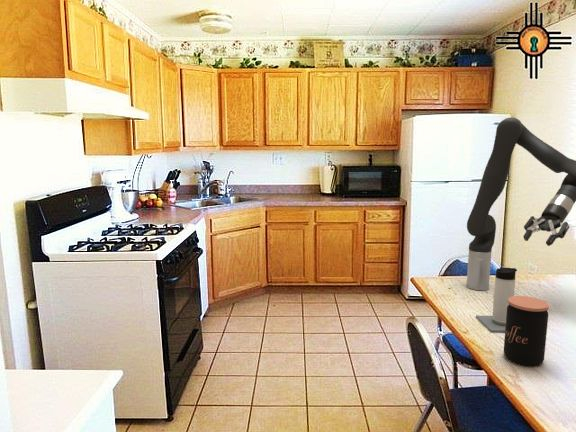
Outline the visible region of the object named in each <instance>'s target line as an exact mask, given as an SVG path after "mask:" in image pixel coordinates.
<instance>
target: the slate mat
mask: <svg viewBox="0 0 576 432" xmlns="http://www.w3.org/2000/svg"><path fill="white" fill-rule="evenodd" d="M492 317H493V315H475V319H476V320H477V321H479V323H480V324H481V325H482V326H484V328H486V329H487V331H489V332H490V333H491V334H492V333H502V334H503V333H504V334H505V327H506V326H502V325H498V324H495V323H494V322H493V321H492Z"/></svg>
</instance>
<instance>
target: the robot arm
mask: <svg viewBox="0 0 576 432" xmlns="http://www.w3.org/2000/svg"><path fill="white" fill-rule="evenodd" d="M516 145H518V146H519V147H521V148H523V149H524V150H526V151H527V152H528V153H529V154H530V155H532V156H533V157H534V158H535V159H536V160H537V161H538V162H540V163H541V165H543V166H545V167H547V168H548V169H549V170H551V171H552V172H554V173H556V174H561V173H566V175H565V177H564V178H563V180H562V182H561V184H560V187H559V189H558V190H557V191H556V193H555V194H554V196H553V197H552V198H551V199H550V200H549V202H548V203H547V205H546V207H545V208H544V210H543V211H542V212H541V215H540V217H539V218H537V217H535V216H533V215H531V216H530V217H529V219H528V220H527V221H526V223H525V224H524V226H523V229H524V230H525V233H524V234H523V236H522V237H523V240H524V241H525V242H528V241H529V240H530V238H531V237H532V235H533V233H536V232H540V231H543V232H547V233H550V232H551V234H550V235H549V236H548V238H547V239H546V241H545V244H546V245H547V247H551V246H553V244H554V242H555V241H556V240H557V239H558V238H560V239H564V238H565V235H566V234H567V232H568V231H569V229H570V225H569V223H568V221H565V220H566V218H567V217H568V215H569V214H570V213H571V210H572V209H573V206H574V205H575V203H576V160H575V159H572V158H569V157H567V156H566V155H565V154H564V153H562V152H561V151H559V150H557V149H556V148H554V147H553V146H551V145H549V144H548V143H547V142H545V141H544V140H542V139H540V138H539V137H538V136H536V135H535V134H534V133H533V132H532V131H530V130H529V129H528V128H527V127H526V125H524V124H523V123H522V121H521V120H520V119H518V118H515V117H513V116H512V117H506V118H504V119H502V120H501V121H500V122H499V123H498V125H497V127H496V131H495V136H494V141H493V148H492V150H491V151H492V152H491V154H490V157H489V158H488V161H487V163H486V166H485V169H484V171H483V174H482V178H481V180H480V181H481V182H480V185H479V187H478V188H479V189H478V193H477V196H476V199H475V201H474V204H473V207H472V209H471V211H470V214H469V217H468V218H467V222H466V229H467V232H468V233H469V235H470V236H473V237H474V238H473V240H472V241H471V242H469V245H468V258H467V273H466V275H467V276H466V287H467V288H468V289H470V290H474V291H487V290H489V287H490V278H491V277H490V276H491V265H492V264H491V263H492V251H493V249H492V248H493V247H494V244H495V239H496V229H497V224H496V222H497V221H496V219H495V218H494V216H493V215H491V214H489V213H490V211H491V208H492V206H494V203H496V201H497V199H498V198H499V197H500V195H501V194H502V192H503V191H504V188H505V186H506V184H507V181H508V176H509V172H510V168H511V160H512V154H513V152H514V149H515V147H516ZM558 229H559V230H558ZM557 230H558V232H557Z"/></svg>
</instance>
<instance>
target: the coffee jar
mask: <svg viewBox="0 0 576 432" xmlns="http://www.w3.org/2000/svg"><path fill="white" fill-rule="evenodd" d="M508 303H509V305H508V306H507V315H506V327H505V333H504V340H503V341H504V342H503V355H504V356H505V358H506V359H507V360H508V361H509V362H511V363H513V364H515V365H518V366H522V367H527V368H534V367H535V368H536V367H539V366H540V365H541V364H542V363H544V361H545V353H546V345H547V344H546V343H547V334H548V323H549V312H548V310H549V309H550V304H549V303H548V302H547V301H546V300H543V299H541V298H537V297H533V296H527V295H514V296H512V297H509V298H508Z"/></svg>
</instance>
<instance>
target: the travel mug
mask: <svg viewBox="0 0 576 432" xmlns="http://www.w3.org/2000/svg"><path fill="white" fill-rule="evenodd" d="M517 272H518V269H517V268H515V267H499V268H496V269H495V277H494V278H495V279H494V288H493V289H494V292H493V306H492V307H493V308H492V316H493V317H492V321H493V322H494V323H495V324H498V325H502V326H506V315H507V306H508V305H509V303H508V298H509V297H512V296H515V289H516V288H515V287H516V273H517Z"/></svg>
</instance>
